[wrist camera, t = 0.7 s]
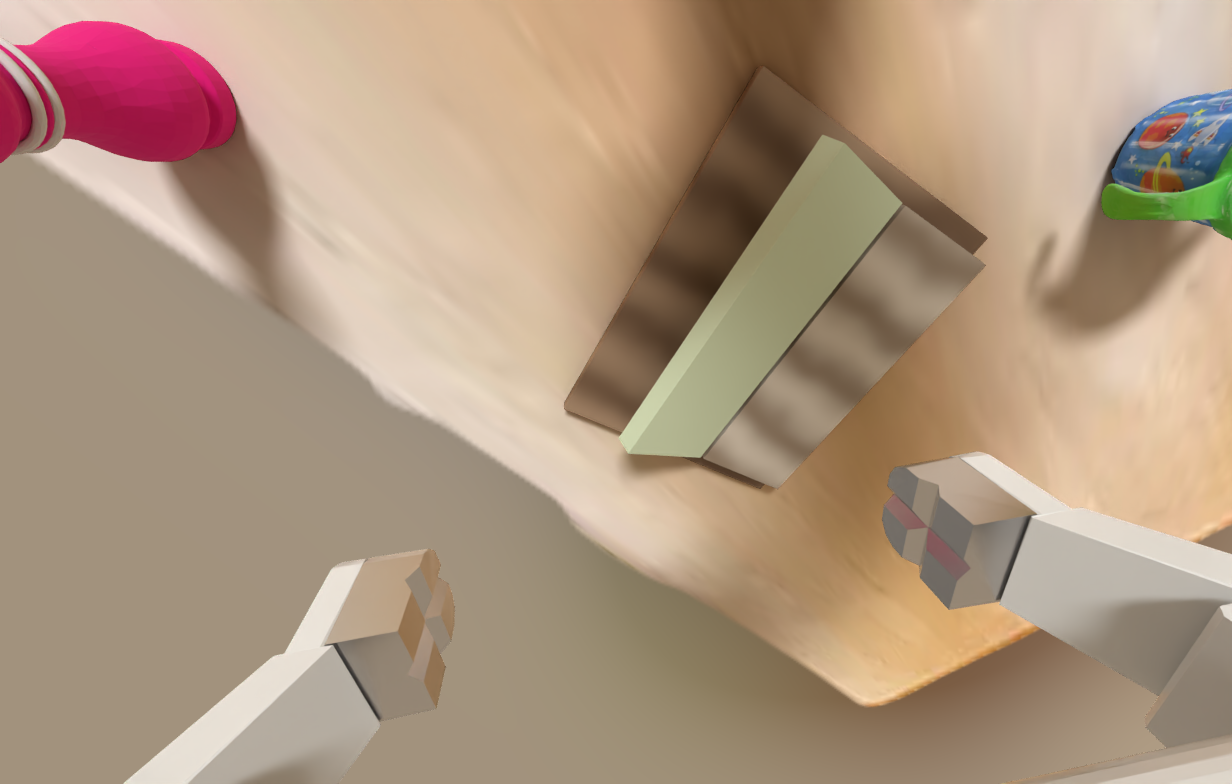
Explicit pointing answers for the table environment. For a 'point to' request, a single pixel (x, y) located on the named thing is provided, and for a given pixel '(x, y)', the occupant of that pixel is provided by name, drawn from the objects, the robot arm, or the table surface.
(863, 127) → the table surface
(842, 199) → the board
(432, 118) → the table surface
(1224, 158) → the snack cup
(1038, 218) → the table surface
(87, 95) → the pepper mill
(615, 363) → the floor board
